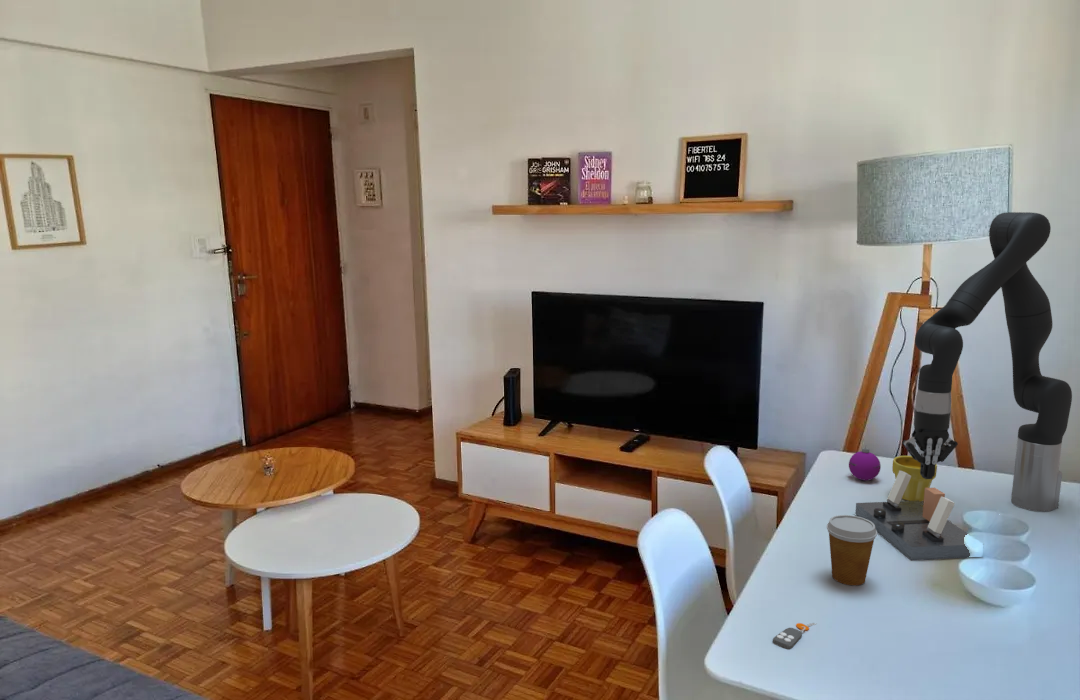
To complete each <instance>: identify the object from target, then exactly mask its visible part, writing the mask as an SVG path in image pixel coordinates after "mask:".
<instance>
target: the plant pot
mask: <svg viewBox="0 0 1080 700" xmlns="http://www.w3.org/2000/svg"><path fill="white" fill-rule="evenodd" d="M920 467H921V463H920V462H918V461H917V460H915V459H913V458H912V456H911V455H898V456H895V457H894V458H893V459H892V473H893V474H894V476H895V477H894V478H895V480H896V478H897V475H898V473H899V471H903V472H906V473H907V474H909V475H911V478H910V481H909V483H908V485H907V487H906V490H905V492H904V494H903V496H902V499H901V500H903V501H920V502H921V503H922V502H924V492H925V488H931V485H932V482H933V480H934V479H935V478H936V477H937V472H938V471H937V470H938V465H937V464H936V465H935V475H934V477H933V478H932V479H925V478H923V477H922V475H921V474H920Z"/></svg>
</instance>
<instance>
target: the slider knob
mask: <svg viewBox="0 0 1080 700" xmlns="http://www.w3.org/2000/svg"><path fill="white" fill-rule="evenodd" d="M941 496H942V497H945V498H946V493H945V492H943V491H941V490H939V489H938V488H936V487H930V488H925V492H924V501H923V516H922V517H924V518H925V519H927V520H928V521H929V522H930V520H931V518H932V516H933V513H934V511H935V509H936V507H937V505H938V502H939V500H940V498H941Z"/></svg>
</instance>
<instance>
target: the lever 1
mask: <svg viewBox="0 0 1080 700" xmlns="http://www.w3.org/2000/svg"><path fill="white" fill-rule="evenodd" d="M910 478H911V475H909V474H907V473H906V472H903V471H899V473H898V475H897V478H896V479H895V480H894V483H893V484H892V487H891V488H890V491H889V494H888V496H887V498H886V502H889V503H890V504H891V505H893V506H894V507H896V508H897V507H898V505H897V504H899V503H900V501H902V500H903V499H902V496H903V494H904V492H905V490H906V487H907V485H908V483H909V481H910Z"/></svg>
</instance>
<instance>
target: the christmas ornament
mask: <svg viewBox="0 0 1080 700" xmlns="http://www.w3.org/2000/svg"><path fill="white" fill-rule="evenodd" d="M881 466H882V465H881V461H880V459H879V458H878V456H877V455H875V454H874V453H873V452H870V448H868V447H867V446H865V447H862V449H861V450H860V451H857V452H855V453H854V454H852V456H851V457H850V458H849V460H848V469H849V471H850V473H851V474H852V476H853V477H855V478H856V479H858V480H860V481H872V480H873V479H875V478H876V477H877V476H878V475H879V474H880V472H881Z"/></svg>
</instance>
